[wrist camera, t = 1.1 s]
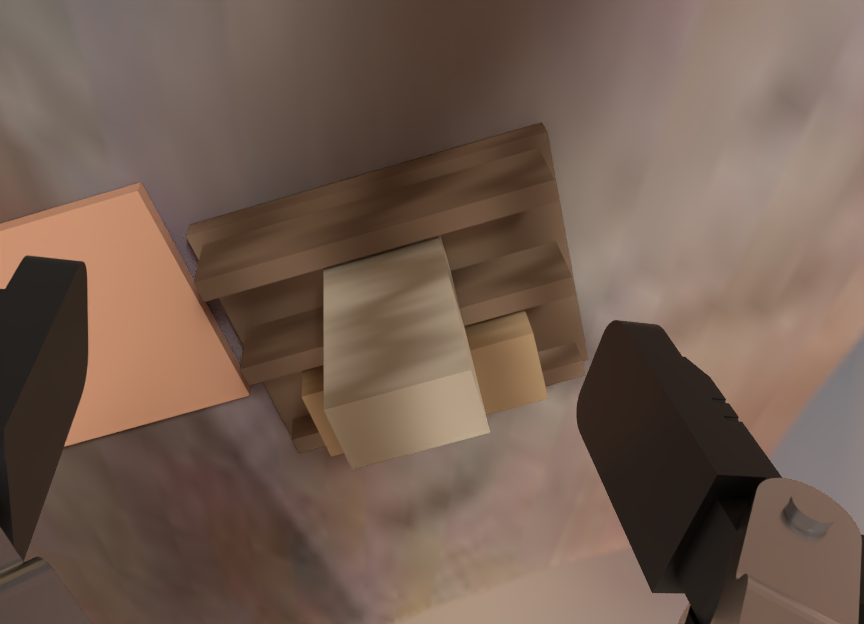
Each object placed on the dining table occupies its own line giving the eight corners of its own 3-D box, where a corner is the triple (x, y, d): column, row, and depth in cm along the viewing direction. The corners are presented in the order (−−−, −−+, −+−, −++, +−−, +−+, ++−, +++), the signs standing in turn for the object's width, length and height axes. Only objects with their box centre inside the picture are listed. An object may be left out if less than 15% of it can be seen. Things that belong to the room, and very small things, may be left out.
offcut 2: (514, 282, 37) (533, 333, 34) (529, 345, 39) (548, 398, 36) (423, 307, 37) (432, 360, 34) (443, 368, 40) (454, 423, 36)
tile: (141, 182, 33) (137, 190, 32) (250, 384, 40) (250, 395, 39) (-121, 259, 34) (-130, 269, 33) (32, 445, 41) (28, 456, 40)
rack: (541, 122, 33) (565, 162, 30) (583, 347, 41) (605, 398, 38) (189, 225, 34) (175, 274, 31) (293, 426, 42) (291, 482, 39)
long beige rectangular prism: (432, 208, 34) (471, 369, 25) (448, 263, 36) (490, 432, 27) (323, 240, 34) (323, 410, 26) (345, 293, 36) (352, 469, 27)
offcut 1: (393, 315, 37) (399, 369, 34) (415, 376, 40) (423, 432, 36) (303, 341, 38) (301, 396, 34) (330, 399, 40) (331, 456, 37)
